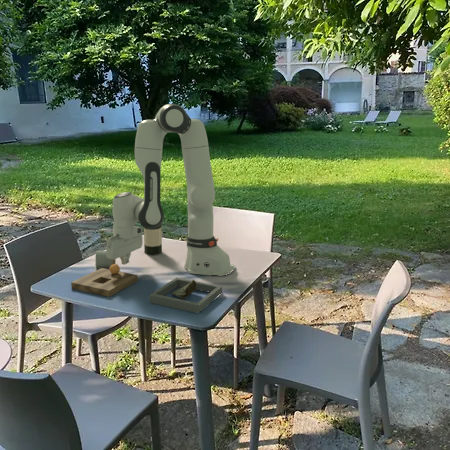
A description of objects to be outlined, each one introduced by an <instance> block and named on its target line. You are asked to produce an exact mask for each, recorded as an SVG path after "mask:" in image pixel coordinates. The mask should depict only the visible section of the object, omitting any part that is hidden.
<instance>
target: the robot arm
mask: <svg viewBox="0 0 450 450" xmlns="http://www.w3.org/2000/svg"><path fill="white" fill-rule="evenodd" d="M168 133H174V134H175V133H176V134H177V135H179V138H180V143H181V151H182V153H181V154H182V160H183V166H184V174H185V179H186V180H185V182H186V190H187V191H186V196H187V197H186V198H187V199H186V200H187V202H186V203H187V236H186V247H187V251H186V252H187V253H186V258H185V262H184V267H183V268H184V269H185V270H186V271H187V273H188V274H192V275H194V274H195V275H204V276H211V275H219V276H218V277H221V276H222V275H226V274H228V273H230V272H231V271H232V270H234V268H235V269H236V265H235V264H232V263H231V258H230V255H229V254H228V253H227V252H226V251H225V250H224V249H222V248H221V247H220V246H219V245H218V241H219V238H216V237H215V236H214V208H213V207H214V205H213V204H214V200H215V198H216V191H215V184H214V177H213V170H212V164H211V157H210V146H209V140H208V135H207V131H206V128H205V124H204V122H203V121H202V120H200V119H197V118H191V117H190V115H188V113H187V112H186V110H185V109H184V107H182V106H181V105H179V104H177V103H167V104H164V105H163V106H162V107H160V108H159V110H158V111H157V112H156V114H155V115H154V117H152V119H145V120H142V121H140V122H139V124H138V125H137V130H136V135H135V139H134V141H135V142H134V159H135V160H134V161H135V164H136V166H137V169H139V171H140V174H141V175H142V178H143V186H144V187H143V197H140V196H137V195H136V194H134V193H133V192H131V191H127V192H126V191H123V192H119V193H117V194H116V195H114V197H113V198H112V217H113V223H112V229H113V230H112V232H113V233H112V235H111V236H110V237H109V238H108V240H107V242H106V246H105V247H106V248H105V251H106V257H107V258H108V259H112V260H115V259H116V260H117V259H120V262H121V264H122V265H123V266H125V265H127V264H130V258H131V256H132V252H134V251H136V250H139V249H141V248H142V247H143V244H144V243H143V241H144V238H143V229H144V228H146V229H155V228H157V227H159V226H160V225H161V226H162V224H163V222H164V219H165V213H164V210H163V207H162V203H161V202H162V201H161V186H162V183H161V178H162V177H161V173H162V160H163V145H164V139H165V137H166V135H167V134H168ZM136 223H140V225H141V226H142V227H141V226H136ZM234 271H235V270H234ZM226 276H227V275H226ZM222 277H223V276H222Z"/></svg>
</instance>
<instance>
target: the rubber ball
mask: <svg viewBox="0 0 450 450" xmlns="http://www.w3.org/2000/svg"><path fill="white" fill-rule="evenodd" d="M109 269H110V272H111V273H112V274H117V273H118V272H119V271H120V269H121V267H120V265H118V264H116V263H115V264H113V265H111V266H110V268H109Z"/></svg>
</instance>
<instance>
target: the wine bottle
mask: <svg viewBox="0 0 450 450" xmlns="http://www.w3.org/2000/svg"><path fill="white" fill-rule="evenodd" d="M143 234H144V235H143V241H144V243H143V244H144V246H143V247H144V249H143V250H144V254H146V255H147V256H148V255H149V256H156V255H160V254H162V253H163V248H162V247H163V245H162V244H163V238H162V236H163V235H162V224H161V225H160V226H159V227H157V228H155V229H146V228H144V227H143Z"/></svg>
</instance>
